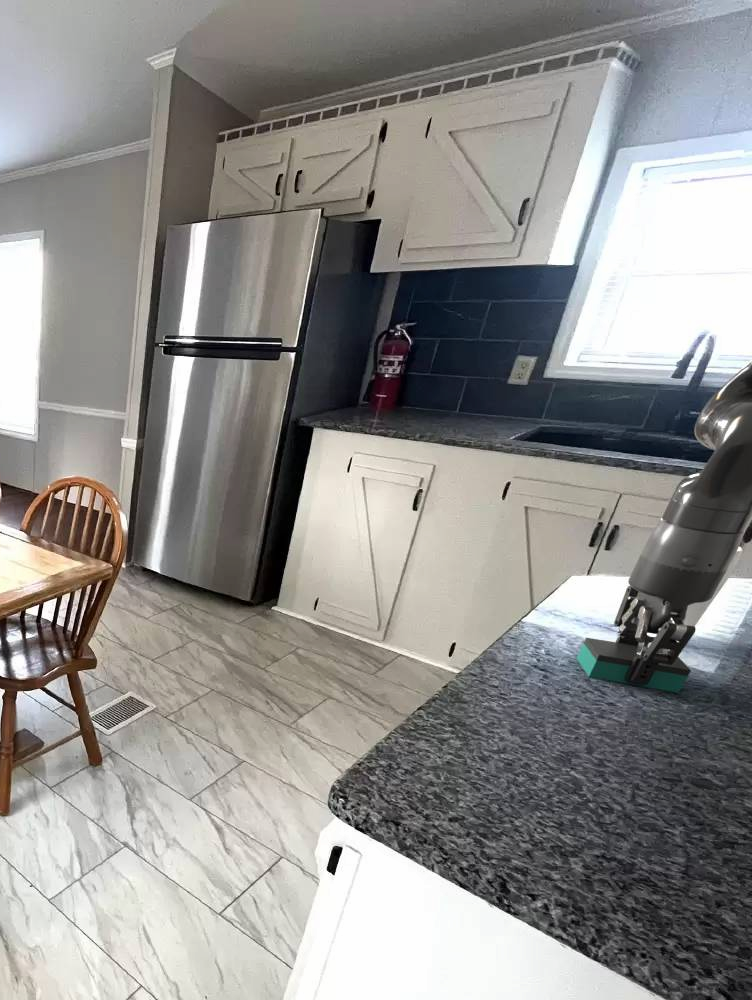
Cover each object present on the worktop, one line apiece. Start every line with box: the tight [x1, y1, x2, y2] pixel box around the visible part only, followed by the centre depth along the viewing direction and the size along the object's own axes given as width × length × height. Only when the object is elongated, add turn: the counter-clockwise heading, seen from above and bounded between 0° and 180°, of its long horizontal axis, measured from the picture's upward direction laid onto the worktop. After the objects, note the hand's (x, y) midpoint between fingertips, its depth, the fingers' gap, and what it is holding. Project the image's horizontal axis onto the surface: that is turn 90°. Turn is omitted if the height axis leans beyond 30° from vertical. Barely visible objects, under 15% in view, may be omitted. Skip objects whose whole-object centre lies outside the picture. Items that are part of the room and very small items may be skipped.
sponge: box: [576, 637, 692, 694], centre depth 86 cm, size 9×6×4 cm, turn 62°
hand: (626, 671), depth 87 cm, fingers closed on sponge, 5 cm apart
